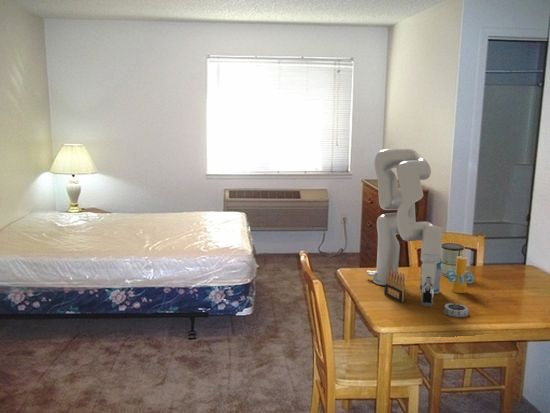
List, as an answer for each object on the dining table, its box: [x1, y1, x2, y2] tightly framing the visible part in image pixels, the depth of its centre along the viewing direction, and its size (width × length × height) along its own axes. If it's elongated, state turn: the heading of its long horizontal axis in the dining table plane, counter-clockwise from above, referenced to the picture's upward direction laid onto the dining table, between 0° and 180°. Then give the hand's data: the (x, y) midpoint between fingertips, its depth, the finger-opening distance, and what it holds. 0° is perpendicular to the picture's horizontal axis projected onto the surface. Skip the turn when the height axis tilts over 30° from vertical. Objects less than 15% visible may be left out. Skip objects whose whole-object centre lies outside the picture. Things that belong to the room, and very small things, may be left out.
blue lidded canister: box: [419, 260, 442, 295], centre depth 218 cm, size 8×8×20 cm
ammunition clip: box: [384, 268, 406, 304], centre depth 209 cm, size 11×2×12 cm, turn 26°
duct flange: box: [443, 302, 469, 319], centre depth 196 cm, size 9×9×2 cm
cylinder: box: [446, 256, 475, 294], centre depth 219 cm, size 12×10×15 cm
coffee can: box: [440, 242, 465, 277], centre depth 243 cm, size 10×10×14 cm
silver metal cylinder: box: [420, 286, 435, 308], centre depth 204 cm, size 5×5×8 cm
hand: (427, 298), depth 204 cm, fingers open, 9 cm apart
